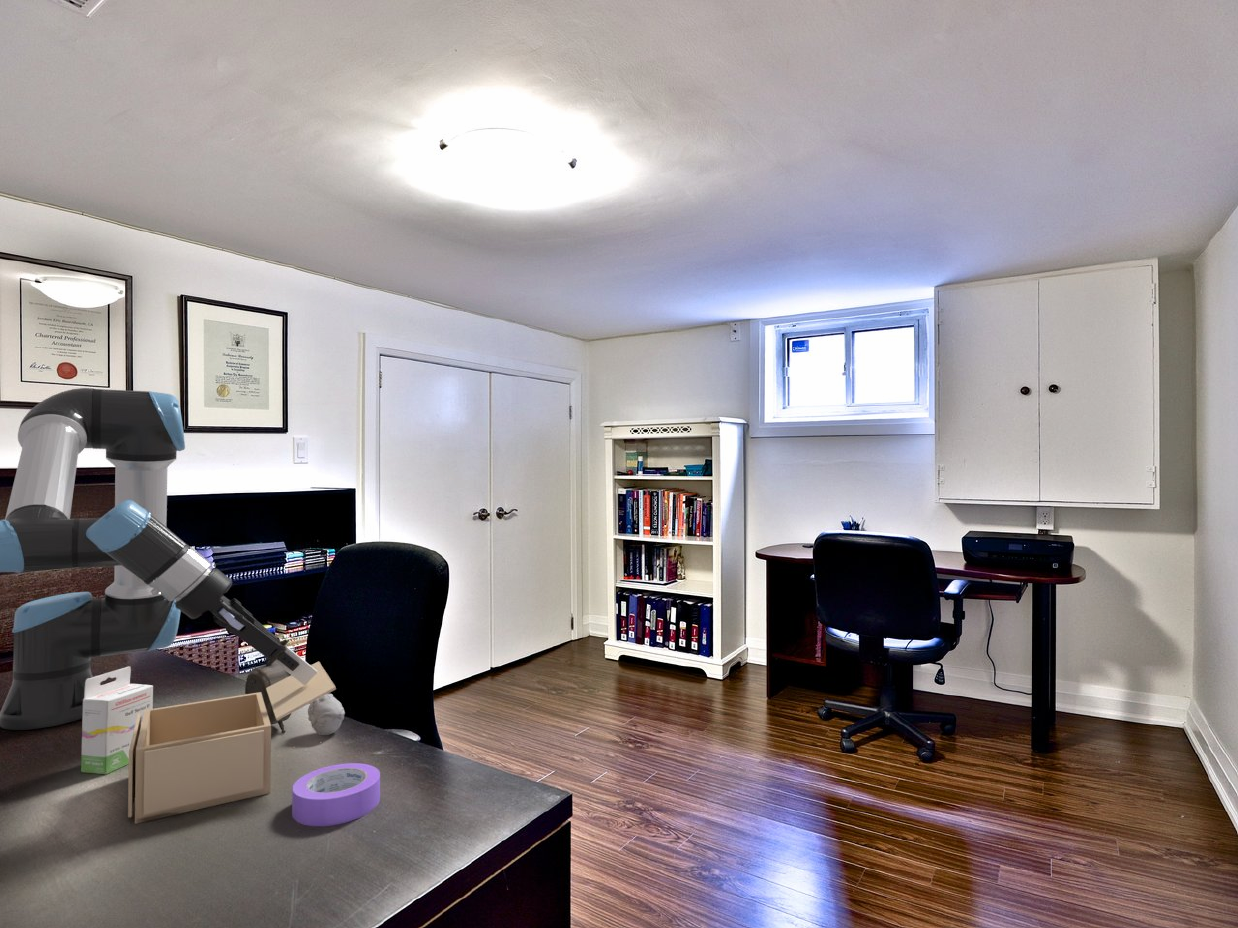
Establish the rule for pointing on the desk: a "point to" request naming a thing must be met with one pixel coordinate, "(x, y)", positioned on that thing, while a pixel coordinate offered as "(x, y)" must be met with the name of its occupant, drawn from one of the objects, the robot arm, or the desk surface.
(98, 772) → the ink box
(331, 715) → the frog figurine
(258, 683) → the alarm clock
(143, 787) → the carton
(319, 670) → the flap
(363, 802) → the masking tape
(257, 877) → the desk surface
